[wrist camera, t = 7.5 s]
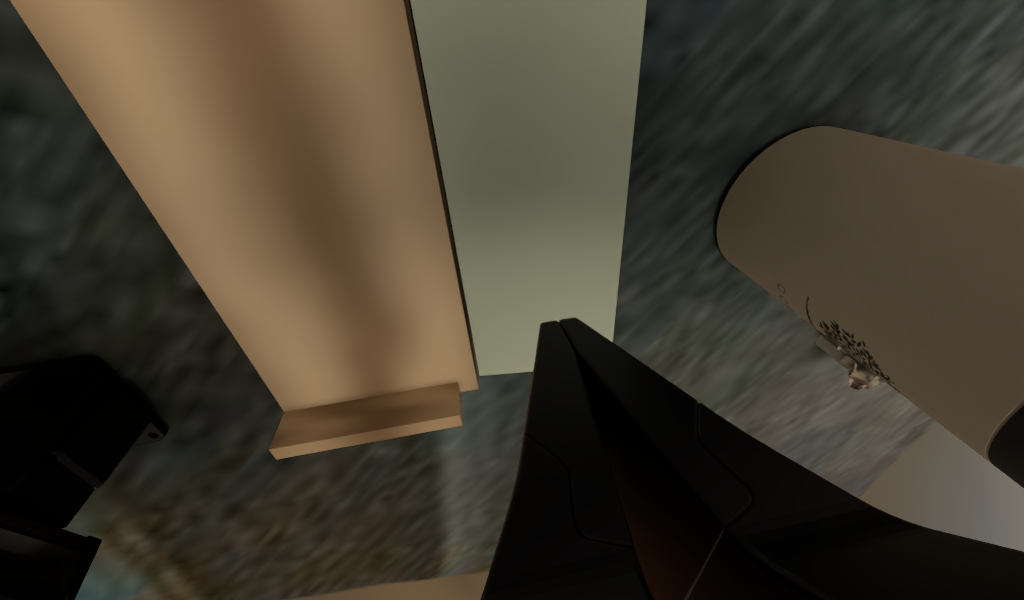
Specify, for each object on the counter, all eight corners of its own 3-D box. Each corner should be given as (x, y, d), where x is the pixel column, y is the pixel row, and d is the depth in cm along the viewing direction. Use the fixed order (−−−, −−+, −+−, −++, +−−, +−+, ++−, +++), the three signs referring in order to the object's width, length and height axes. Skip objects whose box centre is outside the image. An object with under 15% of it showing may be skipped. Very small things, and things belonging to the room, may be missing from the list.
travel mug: (840, 86, 18) (2843, 320, 3) (867, 205, 22) (1757, 549, 7) (690, 201, 20) (1409, 667, 5) (740, 290, 24) (1219, 688, 9)
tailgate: (479, 375, 20) (610, 364, 20) (390, -106, 10) (660, -135, 10) (480, 352, 22) (602, 342, 22) (404, -89, 11) (638, -112, 11)
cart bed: (306, 380, 22) (276, 459, 18) (34, -100, 11) (-224, -188, 7) (474, 352, 23) (482, 421, 19) (385, -122, 12) (355, -213, 7)
